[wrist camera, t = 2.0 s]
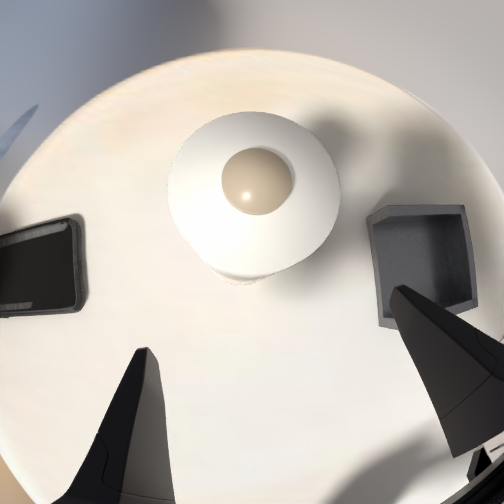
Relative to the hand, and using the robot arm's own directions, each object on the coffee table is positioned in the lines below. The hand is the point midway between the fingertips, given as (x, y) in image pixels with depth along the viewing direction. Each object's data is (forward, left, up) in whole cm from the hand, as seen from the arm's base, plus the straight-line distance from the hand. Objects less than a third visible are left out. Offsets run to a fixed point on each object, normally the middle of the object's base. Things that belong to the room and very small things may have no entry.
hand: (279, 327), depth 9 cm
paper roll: (+3, -3, -11) cm, 12 cm away
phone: (+18, +11, -12) cm, 25 cm away
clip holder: (-10, -11, -11) cm, 18 cm away
